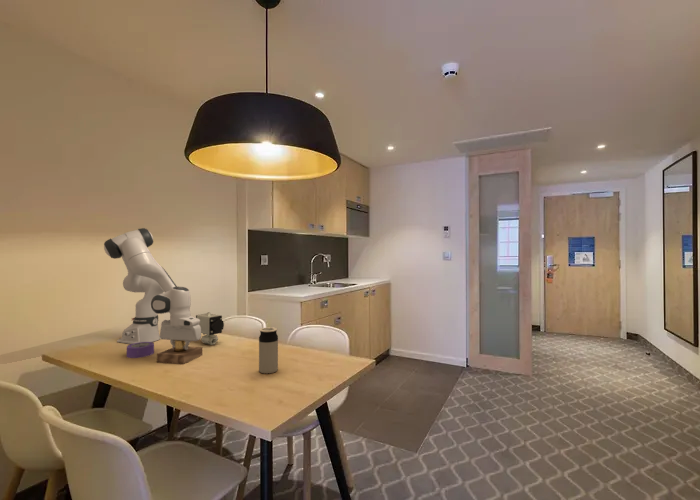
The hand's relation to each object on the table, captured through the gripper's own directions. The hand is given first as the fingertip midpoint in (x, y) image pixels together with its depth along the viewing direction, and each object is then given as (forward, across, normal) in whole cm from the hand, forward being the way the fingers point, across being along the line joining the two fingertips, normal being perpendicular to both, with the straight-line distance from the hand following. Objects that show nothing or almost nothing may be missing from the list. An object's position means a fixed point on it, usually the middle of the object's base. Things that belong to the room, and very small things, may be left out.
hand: (180, 349), depth 163 cm
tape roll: (+5, -25, +3) cm, 25 cm away
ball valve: (+5, -2, +27) cm, 27 cm away
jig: (+5, 0, 0) cm, 5 cm away
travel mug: (+5, +49, -8) cm, 50 cm away
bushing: (+3, 0, 0) cm, 3 cm away
